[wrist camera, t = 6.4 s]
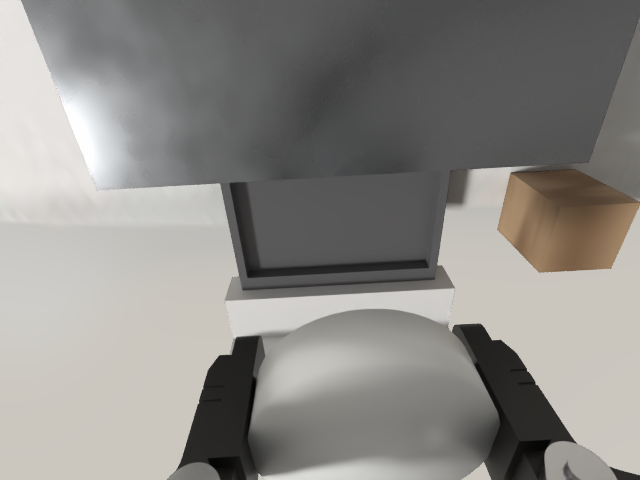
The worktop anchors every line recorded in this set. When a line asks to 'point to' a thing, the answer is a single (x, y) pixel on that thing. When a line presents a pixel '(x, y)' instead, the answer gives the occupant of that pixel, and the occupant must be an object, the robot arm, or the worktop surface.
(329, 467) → the white rounded flat dome
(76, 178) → the worktop surface
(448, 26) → the housing
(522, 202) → the wooden block
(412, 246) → the tray
